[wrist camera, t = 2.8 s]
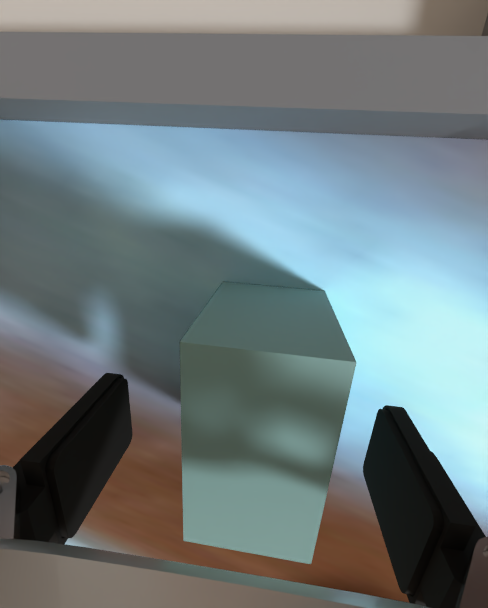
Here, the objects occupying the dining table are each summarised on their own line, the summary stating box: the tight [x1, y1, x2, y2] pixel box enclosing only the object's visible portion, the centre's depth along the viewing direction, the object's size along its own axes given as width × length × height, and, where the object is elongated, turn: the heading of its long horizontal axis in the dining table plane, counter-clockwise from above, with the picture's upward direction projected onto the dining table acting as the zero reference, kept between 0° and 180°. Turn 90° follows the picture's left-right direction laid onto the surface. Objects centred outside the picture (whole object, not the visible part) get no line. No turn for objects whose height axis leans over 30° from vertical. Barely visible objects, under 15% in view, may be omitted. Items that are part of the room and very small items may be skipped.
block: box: [180, 281, 356, 564], centre depth 12 cm, size 4×8×6 cm, turn 177°
